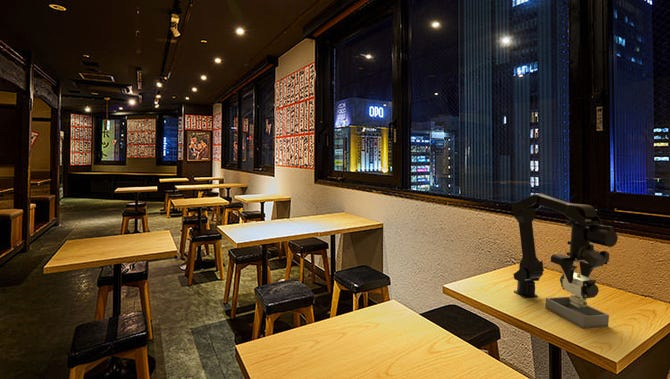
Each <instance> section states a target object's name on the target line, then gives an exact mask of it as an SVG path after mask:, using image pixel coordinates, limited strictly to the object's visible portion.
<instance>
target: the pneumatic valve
mask: <svg viewBox="0 0 670 379" xmlns="http://www.w3.org/2000/svg"><path fill="white" fill-rule="evenodd" d="M559 282H560V286H561V288H562V290H563V291H566V292H568V293H570V294H571V295H570V296H569V297H570V298H569V299H570V301H571V302H570V304H571V305H574V306H576V307H578V308H580V307H586V306H587V305H588V301H587V299H591V298H592V299H593V298H596V296H597V295H598V293H599V286H598V285H597V283H596V280H595V279H594V278H591V277H585V276H583V275H581V273H579V272H578V273H577V272H575V271H574V275H573V281H572V283H569V282H568V280H567V278H566V276H565V273H564V272H563V273H562V275H561V276H560V278H559Z"/></svg>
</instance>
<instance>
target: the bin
mask: <svg viewBox="0 0 670 379" xmlns="http://www.w3.org/2000/svg"><path fill="white" fill-rule="evenodd" d="M569 298H570V296H558V297H546V298H545V305H544V309H546V310H548V311H549V312H551V313H554V314H555V315H557V316H559V317H560V318H563V319H565V320H566V321H568V322H570V323H572V324H574V325H576V326H577V327H580V328H581V329H593V328H595V329H596V328H603V326H605V327H609V320H610V318H609V317H610V315H609V314H608V313H606V312H603V311H602V310H599V309H597V308H595V307H593V306H591V305H588V304H587V306H586V307H580V308H578V307H576V306H574V305H571V304H570V302H571V301H570V299H569Z"/></svg>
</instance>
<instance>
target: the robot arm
mask: <svg viewBox="0 0 670 379" xmlns="http://www.w3.org/2000/svg"><path fill="white" fill-rule="evenodd" d="M541 207H544V208H548V209H550V210H553V211H556V212H559V213H561V214H563V215H564V216H565V217H567V219H570V220H569V221H568V222H566V223H565V226H566V227H567V226H568V227H571V231H570V240H568V241H567V245H569V252H568V251H567V252H566V255H565V254H560V253H558V254H552V255H551V256H550V262H551V263H553V264H556V265H558V266H560V268H561V269H562V272H563V273H565V276H566V278H567V280H568V282H569V283H572V281H573V275H574V272H575V270H576V269H578V266H576V265H575V263H579V270H580V275H583V276H585V277H588V278H590V276H591V273H592V272H593V270H595V269H596V268H599V267H604V265H608V262H610V253H609V252H608V251H607V250H602V251H599V250H595V246H594V244H595V245H600V246H603V247H609V248H612V247H614V246H615V245H617V242H618V238H619V237H618V234H617V232H616V231H615V230H614V226H611V225H604V223H603V222H602V220H601V219H600V217H599V215H598V214H597V212H596V209H595V207H594V206H592V205H589V204H584V203H583V204H581V203H572V202H567V201H565V200H561V199H558V198H555V197H552V196H549V195H546V194H544V193H534V194H531V195H530V196H528V197H525V198H524V199H520V200H519V201H516V202H514V204H513V205H512V214H513V217H514V218H515V220H516V221H517V223H518V229H519V237H520V245H521V254H522V255H521V256H522V257H521V259H520V262H519V265H518V266H519V267H518V270H517V271H516V272H514V273H513V274H512V275H513V280H515V281H517V285H516V286H517V287H516V289H517V290H513V293H515V294H518V295H519V296H520V297H522V298H534V297H536V298H537V297H538V294H536V282H539V281H540V279H541V277H542V276H543V275H544V271H545V270H544V262H543V261H542V260H539V259H538V257H537V253H536V245H535V235H534V226H533V221H534V219H535V217H536V211H537V210H539V209H540V208H541ZM591 243H592V244H591Z"/></svg>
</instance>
